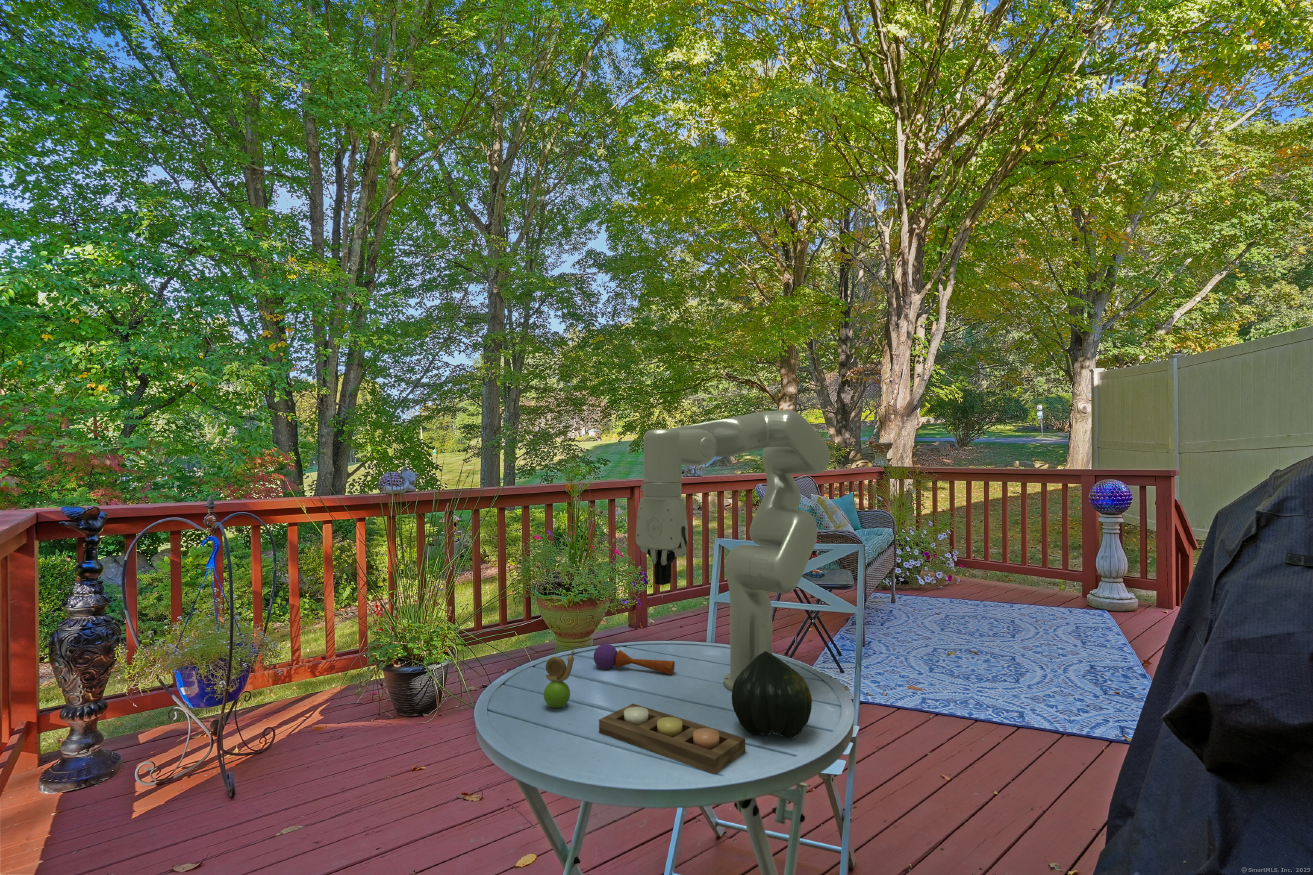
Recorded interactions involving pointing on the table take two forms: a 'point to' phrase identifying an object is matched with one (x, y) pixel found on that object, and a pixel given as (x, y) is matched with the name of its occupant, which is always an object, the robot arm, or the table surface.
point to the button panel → (674, 740)
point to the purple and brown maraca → (628, 660)
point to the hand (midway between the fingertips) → (662, 583)
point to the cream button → (636, 715)
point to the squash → (771, 698)
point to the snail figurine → (558, 681)
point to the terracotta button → (706, 738)
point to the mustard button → (669, 726)
